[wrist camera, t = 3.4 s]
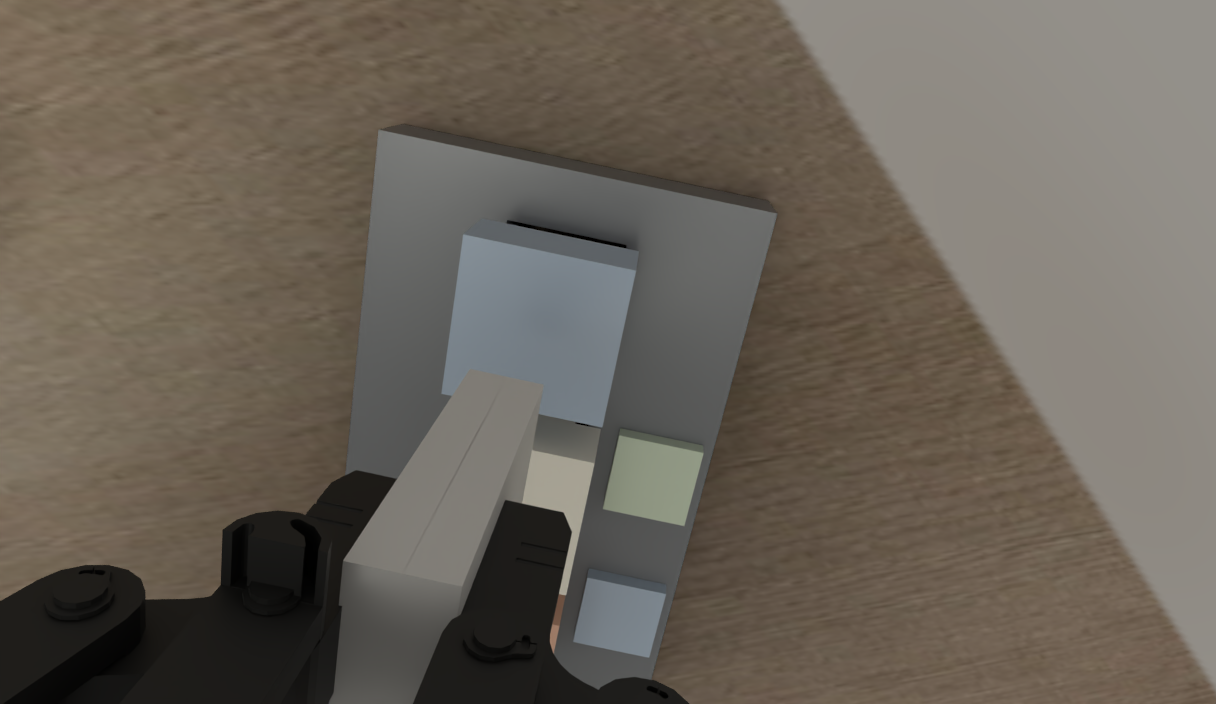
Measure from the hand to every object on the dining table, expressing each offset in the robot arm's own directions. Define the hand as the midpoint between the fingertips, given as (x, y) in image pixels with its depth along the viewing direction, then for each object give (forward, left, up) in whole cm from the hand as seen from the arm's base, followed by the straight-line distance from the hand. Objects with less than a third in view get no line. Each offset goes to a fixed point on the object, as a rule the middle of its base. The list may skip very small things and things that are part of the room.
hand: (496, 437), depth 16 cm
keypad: (-9, 0, -14) cm, 17 cm away
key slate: (0, 0, -12) cm, 12 cm away
